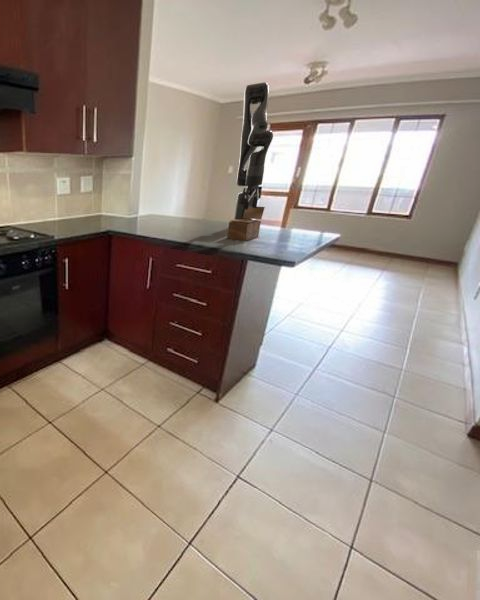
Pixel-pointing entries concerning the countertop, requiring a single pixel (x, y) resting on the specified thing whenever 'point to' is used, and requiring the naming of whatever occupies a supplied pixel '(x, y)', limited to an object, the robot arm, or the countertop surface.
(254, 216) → the flap
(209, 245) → the countertop surface
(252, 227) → the carton
